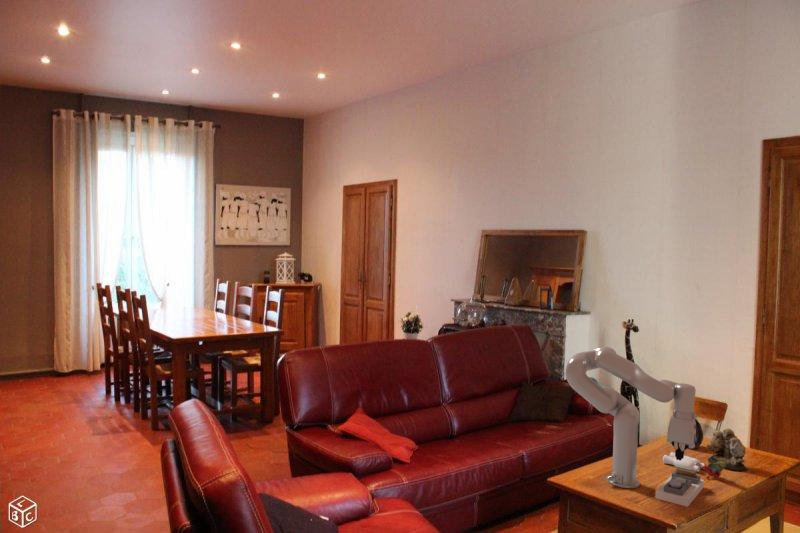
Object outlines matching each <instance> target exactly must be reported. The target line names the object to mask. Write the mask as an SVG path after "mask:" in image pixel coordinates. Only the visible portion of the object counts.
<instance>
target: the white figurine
mask: <svg viewBox="0 0 800 533" xmlns="http://www.w3.org/2000/svg"><path fill="white" fill-rule="evenodd" d="M662 464H668V465H673V466H674V467H675V468H676V469H677V468H678V467H680V468H685V469H689V470H694V471H696V472H700V471H701V467H703V466H705V465H706V466H707V463H705V464H704V463H703V462H701V461H700V460H698V459H697V458H694V457H692V456H687V455H684V458H682V460H676V457H675V451H674V452H673V451H671V452H670V453H669V455H667V454H664V455H663V457H662ZM702 470H705V468H703V469H702Z"/></svg>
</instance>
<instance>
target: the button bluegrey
mask: <svg viewBox="0 0 800 533" xmlns="http://www.w3.org/2000/svg"><path fill="white" fill-rule="evenodd" d="M670 486H671V487H673V488H681V481H679V480H676V479H671V480H670Z"/></svg>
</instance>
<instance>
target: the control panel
mask: <svg viewBox="0 0 800 533" xmlns="http://www.w3.org/2000/svg"><path fill="white" fill-rule="evenodd" d="M677 477H680V478H684V479H686V484H685V483H681V488H673V487H671V486H670V480H671V479H675V478H677ZM704 487H705V480H704V479H702V478H701V475H699V474H696V476H695V478H693V477H688V476H684V475H680V474H676V469H675V470H673V472H671V475H670V476H669V477H668V478H667V479H666V480H665V481H664V482H663V483H662V484H661V485H660V486H659V487H658V488H656V490H655V499H656V500H661V501H664V502H669V503H672V504H676V505H680V506H683V507H687V508H688V507H689V506H690V505H691V503H692V502H693V501H694V500H695V499H696V497H697V496H698V495H699V494H700V493H701V491H702V490H703V488H704Z"/></svg>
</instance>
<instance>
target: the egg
mask: <svg viewBox="0 0 800 533" xmlns="http://www.w3.org/2000/svg"><path fill="white" fill-rule="evenodd" d="M693 419H694V420H695V422H696V441H695V447H694V448H690V449H695V450H696V449H698V448H699V446H701V444H702V443H703V442H704V430H703V427H702V426H701V424H700V422H699V421H698V419H697V418H693Z"/></svg>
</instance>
